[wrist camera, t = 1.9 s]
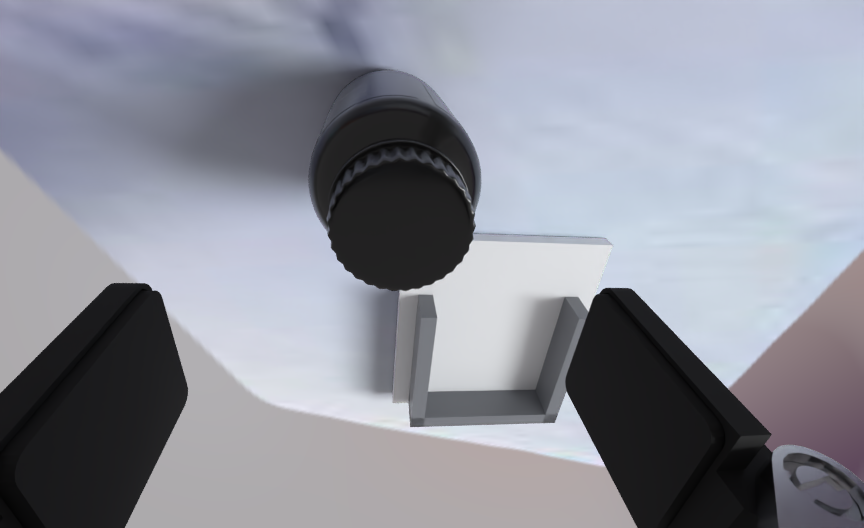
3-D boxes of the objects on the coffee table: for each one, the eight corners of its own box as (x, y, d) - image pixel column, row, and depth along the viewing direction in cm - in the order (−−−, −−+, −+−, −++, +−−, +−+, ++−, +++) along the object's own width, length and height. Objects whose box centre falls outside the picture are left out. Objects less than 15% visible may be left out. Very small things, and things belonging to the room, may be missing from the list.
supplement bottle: (346, 201, 25) (323, 331, 15) (312, 80, 21) (250, 143, 11) (458, 180, 25) (511, 296, 15) (442, 57, 21) (499, 98, 11)
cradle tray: (402, 231, 26) (405, 258, 23) (606, 238, 28) (632, 264, 25) (392, 393, 34) (393, 429, 31) (553, 390, 36) (568, 424, 33)
